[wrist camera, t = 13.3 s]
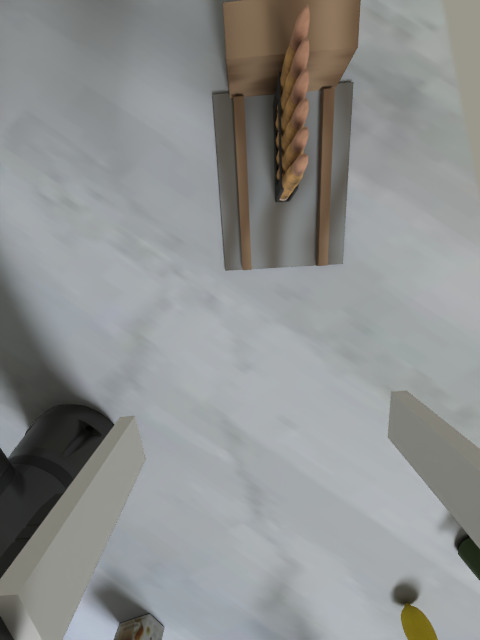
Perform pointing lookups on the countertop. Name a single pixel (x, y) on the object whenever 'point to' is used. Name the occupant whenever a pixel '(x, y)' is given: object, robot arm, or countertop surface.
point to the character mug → (470, 555)
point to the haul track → (258, 134)
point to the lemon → (416, 624)
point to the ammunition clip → (292, 112)
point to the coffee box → (140, 629)
